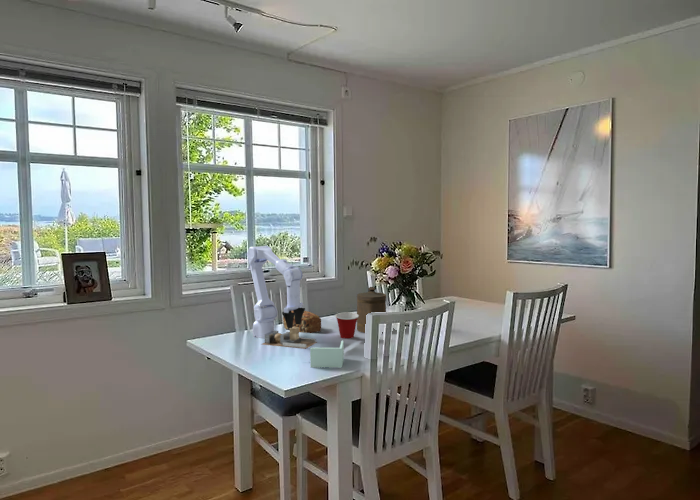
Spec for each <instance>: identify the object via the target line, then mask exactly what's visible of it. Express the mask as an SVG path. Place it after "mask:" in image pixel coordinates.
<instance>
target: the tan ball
mask: <svg viewBox="0 0 700 500" xmlns="http://www.w3.org/2000/svg"><path fill="white" fill-rule="evenodd" d="M282 334H283V333H280V332H278V333H277V334H276V335H275V337H274V339H275V341H276V343H280V335H282Z"/></svg>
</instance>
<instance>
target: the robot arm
mask: <svg viewBox="0 0 700 500" xmlns="http://www.w3.org/2000/svg"><path fill="white" fill-rule="evenodd" d="M247 249H248V250H247V252H246V257H247V261H248V265H249V268H250V272H251V277H252V280H253V286H254V291H255V295H256V299H257V302H256V303H255V304H254V306H253V310H254V311H253V313H254V314H253V315H254V320H255V321H254V322H253V323H252V338H255V339H257V338H258V339H264V340H265V334H267V333H269V332H271V331H275V321H276V318H277V317H278V309H277V307H276V306H275V302H274V301H273V300H271V299H270V297H269V292H268V288H267V283H266V279H265V275H264V270H263V266H264V265H265V264H267V262H269V263H271V264H272V265H274V266H275V270H276V271H278V272H279V273H280V274H281V275H282V276H283V279H284V281H285V286H286V298H287V299H286V305H285V307H284V308H283V311H282V312H281V314H282V316H283V317H284V318H285V321H286V324H287V328H292V327H293V319H294V316H295V323H296V324H301V320H302V316H303V313H304V311H306V308H305V307H304V302H301V280H302V279H303V270H302V269H301V268H300V267H295V266H294V265H293V264H291V263H289V262H288V261H287V259H285V258H284V259H283V258H282V259H281V258H279V256H278V255H276V254H275V252H273V249H272V248H271V247H270V246H268V245H261V246H260V245H259V246H249V248H247ZM292 310H293V312H294V313H292V312H291V311H292Z"/></svg>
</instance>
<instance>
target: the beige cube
mask: <svg viewBox="0 0 700 500" xmlns="http://www.w3.org/2000/svg"><path fill="white" fill-rule="evenodd" d="M281 334H282V335H280V343H281V344H283V342H289V343H300V342H301V338H302V337H300V332H299V327H292V328H290V330H289V331H286V332H284V333H281Z"/></svg>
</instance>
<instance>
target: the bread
mask: <svg viewBox="0 0 700 500" xmlns="http://www.w3.org/2000/svg"><path fill="white" fill-rule="evenodd" d="M291 312H292V313H294V312H293V310H292V311H291ZM282 320H283V325H284V326H283V327H284V329H285V330H288V331H290V328H287V324H286V321H285V318H284V316H283V317H282ZM293 327H299V333H303V334H313V333H318V332H321V330H322V318H321V317H320V316H319V315H318V314H316V313H313V312H312V311H307V310H305V311H304V313H303V316H302V320H301V324H296V323H295V316H294V319H293Z"/></svg>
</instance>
